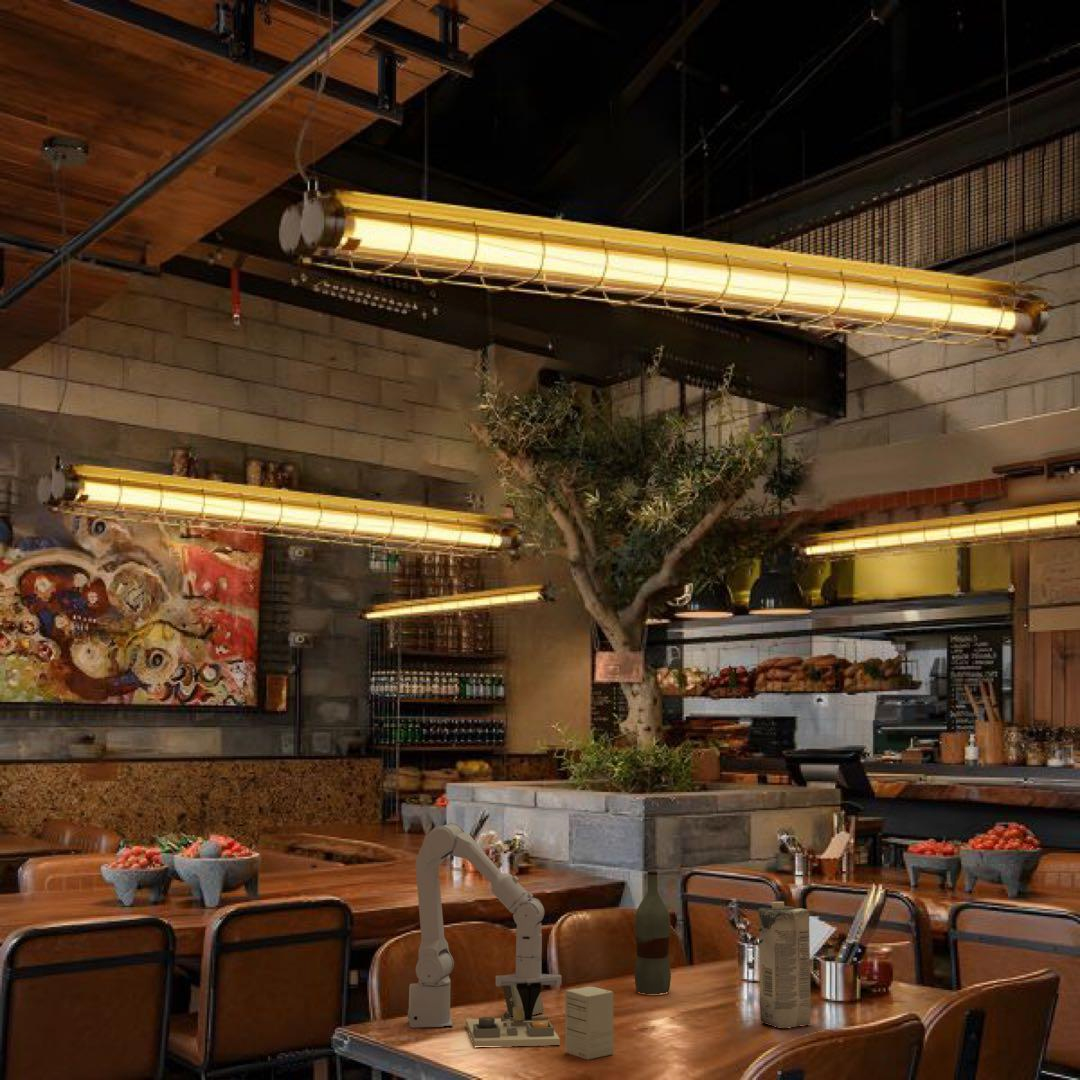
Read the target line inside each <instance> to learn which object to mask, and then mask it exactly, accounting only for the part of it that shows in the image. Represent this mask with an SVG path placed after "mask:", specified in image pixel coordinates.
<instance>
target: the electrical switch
mask: <svg viewBox="0 0 1080 1080" xmlns="http://www.w3.org/2000/svg"><path fill="white" fill-rule="evenodd" d="M527 986H528V985H527ZM502 988H503V989H502V990H503V993H504V997H505V1004H506V1009H507V1012H510V1014H511V1016H513V1007H522V1008H523V1005H522V1001H521V998H520V995H519V993H518V990H517V988H516V985H503V986H502ZM523 1010H524V1009H523ZM544 1011H545V1010H544V1003H543V998H542V994H541V992H540V994H539V996H538V998H537V1001H536V1003H535V1006H534V1009H533V1014H532V1015H533V1016H537V1015H539V1013H540V1014H543V1013H544ZM536 1014H537V1015H536ZM523 1017H525V1015H524V1012H523Z"/></svg>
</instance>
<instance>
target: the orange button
mask: <svg viewBox="0 0 1080 1080" xmlns="http://www.w3.org/2000/svg"><path fill="white" fill-rule="evenodd" d="M542 1027H548V1022H546V1021H534V1022H532V1028H542Z"/></svg>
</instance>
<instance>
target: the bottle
mask: <svg viewBox="0 0 1080 1080" xmlns="http://www.w3.org/2000/svg"><path fill="white" fill-rule="evenodd" d="M646 872H647V890H646V893H645V895H644V897H643V899H642V901H641V902H640V904H639V905H638V907H637V908H636V912H635V915H634V931H635V932H634V933H635V946H636V960H635V969H634V985H635V989H636V993H637V992H640V993H645V994H660V993H666V992H668V991H669V992H670V987H671V979H672V975H671V974H672V973H671V964H670V958H669V951H670V937H671V935H670V934H671V928H672V925H671V916H670V913H669V909H668V907H667V906H666V903H665V902H664V900H663V899H662V897H661V895H660V894H659V892H658V885H659V884H658V873H659V871H658V870H657V869H648V870H647V871H646ZM669 992H668V993H669Z"/></svg>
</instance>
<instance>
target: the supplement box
mask: <svg viewBox="0 0 1080 1080" xmlns="http://www.w3.org/2000/svg"><path fill="white" fill-rule="evenodd" d="M564 999H565V1001H564V1002H565V1004H564V1005H565V1009H564V1010H565V1014H564V1017H565V1020H564V1021H565V1027H564V1028H565V1033H564V1034H565V1036H564V1037H565V1038H564V1039H565V1043H564V1044H565V1045H564V1046H565V1047H564V1049H565V1053H566V1052H567V1053H566V1054H568V1053H570V1054H569V1055H571V1054H573V1055H572V1056H574V1055H575V1056H574V1057H577V1056H578V1057H577V1058H580V1057H581V1059H584V1060H587V1061H588V1060H592V1059H596V1058H602V1057H606V1056H607V1057H608V1056H611V1055H614V1053H615V1052H614V1050H615V1048H614V1045H615V1044H614V1042H615V1041H614V1039H615V1038H614V991H611V990H607V989H604V988H599V987H595V986H593V985H592V986H585V987H581V988H580V987H579V988H573V989H567V990H565V998H564Z"/></svg>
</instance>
